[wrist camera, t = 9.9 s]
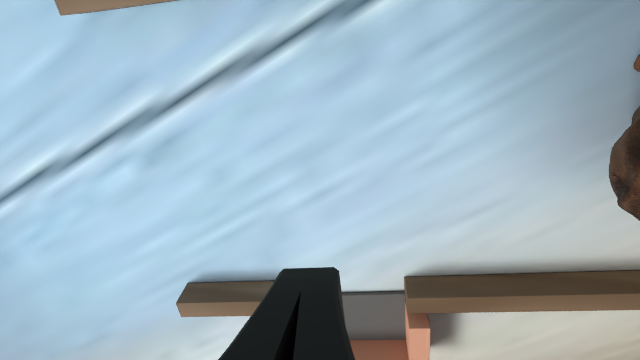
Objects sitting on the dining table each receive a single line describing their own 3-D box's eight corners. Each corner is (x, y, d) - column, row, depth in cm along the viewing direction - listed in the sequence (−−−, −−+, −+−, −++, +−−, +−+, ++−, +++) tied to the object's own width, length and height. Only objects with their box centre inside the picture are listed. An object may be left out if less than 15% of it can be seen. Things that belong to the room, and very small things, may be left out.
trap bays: (551, 348, 21) (569, 382, 19) (273, 349, 23) (266, 379, 21) (714, -322, 9) (796, -394, 8) (133, -196, 11) (92, -229, 10)
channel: (860, 280, 17) (953, 335, 14) (192, 296, 21) (168, 340, 19) (1190, -183, 10) (1504, -248, 7) (77, -16, 14) (11, -17, 11)
